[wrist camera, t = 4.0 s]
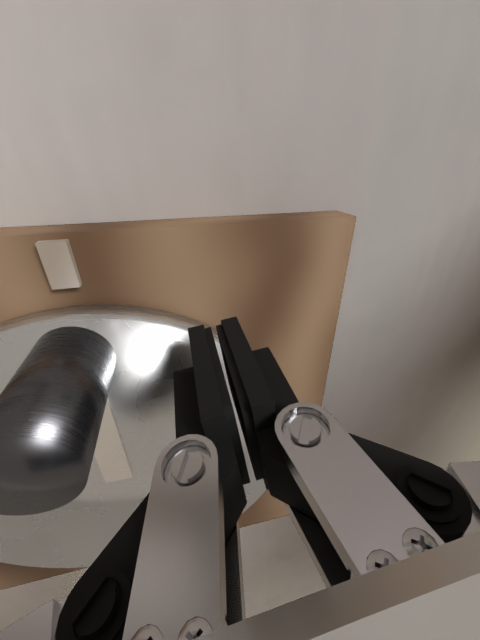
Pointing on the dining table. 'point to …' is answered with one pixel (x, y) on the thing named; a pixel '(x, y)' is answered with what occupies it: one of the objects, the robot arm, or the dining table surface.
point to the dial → (86, 425)
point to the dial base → (194, 290)
